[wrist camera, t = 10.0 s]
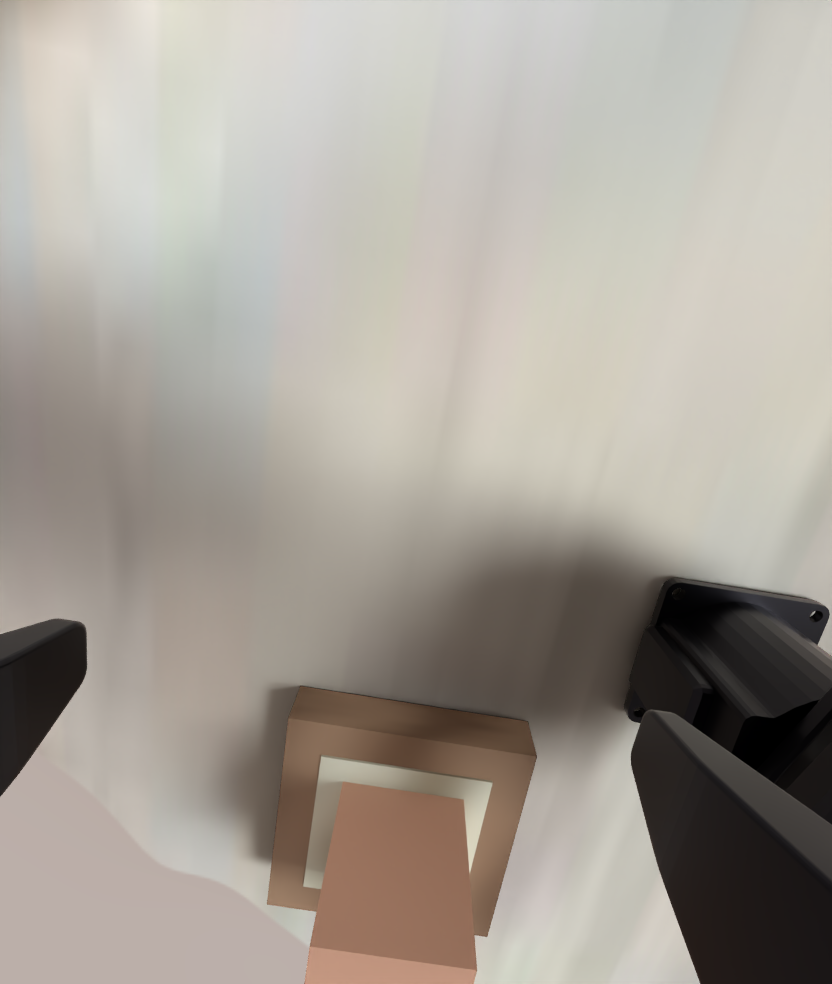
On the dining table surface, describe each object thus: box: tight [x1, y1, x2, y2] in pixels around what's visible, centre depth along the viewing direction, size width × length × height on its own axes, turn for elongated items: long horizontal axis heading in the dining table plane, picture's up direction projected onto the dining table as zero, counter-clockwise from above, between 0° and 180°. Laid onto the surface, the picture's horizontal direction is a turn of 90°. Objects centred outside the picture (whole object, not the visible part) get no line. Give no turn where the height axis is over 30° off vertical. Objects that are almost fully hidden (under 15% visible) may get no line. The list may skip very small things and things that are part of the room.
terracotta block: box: [304, 782, 477, 984], centre depth 19 cm, size 5×5×6 cm
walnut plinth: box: [267, 686, 537, 937], centre depth 23 cm, size 10×10×2 cm
